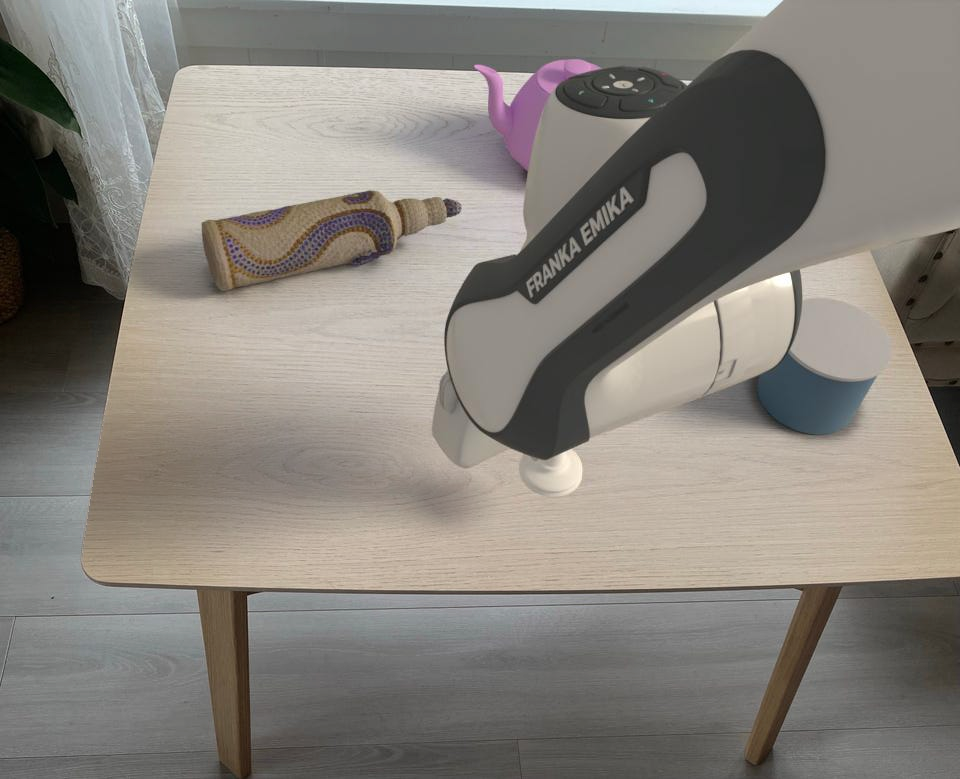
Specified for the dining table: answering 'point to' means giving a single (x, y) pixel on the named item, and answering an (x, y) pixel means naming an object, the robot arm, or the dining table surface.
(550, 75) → the teapot
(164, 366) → the dining table surface
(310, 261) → the decorative bottle
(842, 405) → the yogurt tub
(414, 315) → the dining table surface
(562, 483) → the chess piece
